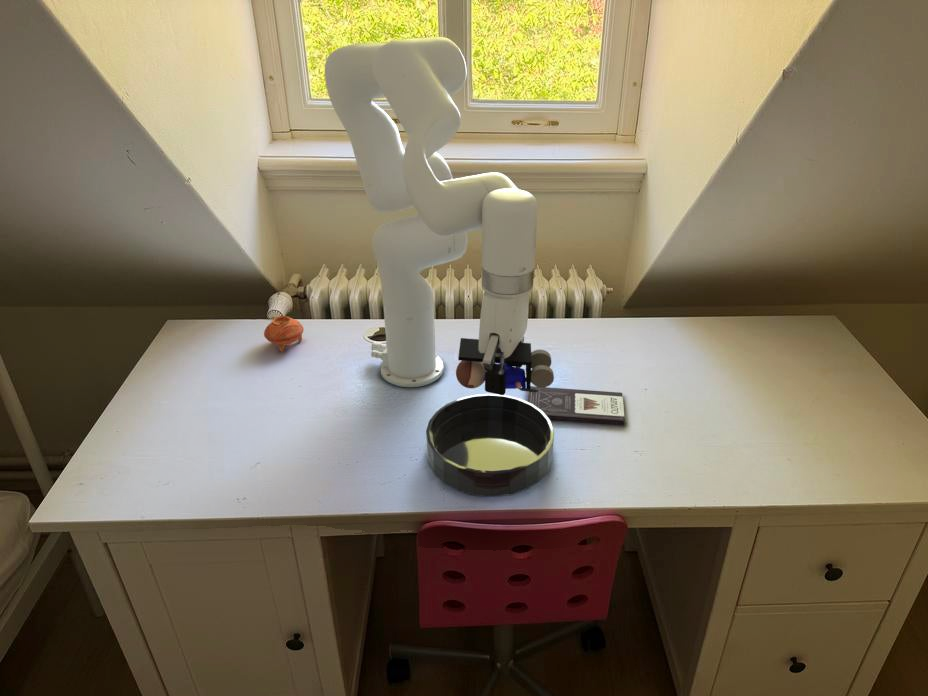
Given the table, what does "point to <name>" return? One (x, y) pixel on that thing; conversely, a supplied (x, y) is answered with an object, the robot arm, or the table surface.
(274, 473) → the table surface
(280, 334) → the pot
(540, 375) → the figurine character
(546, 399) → the chocolate bar
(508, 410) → the bowl
